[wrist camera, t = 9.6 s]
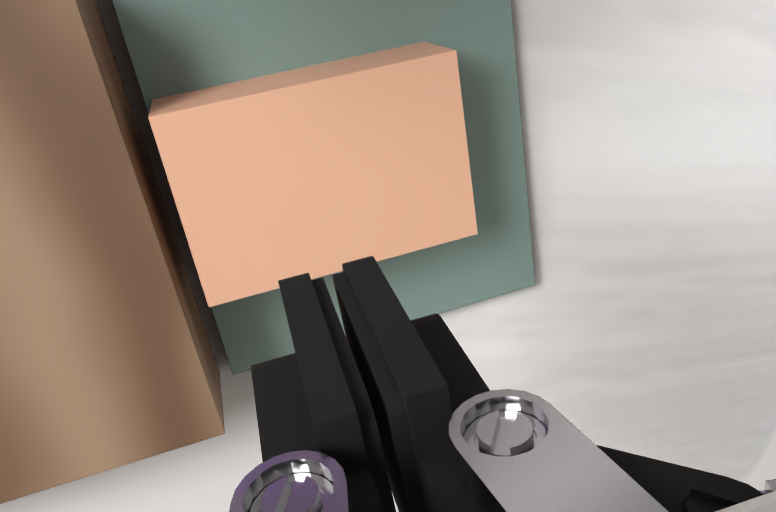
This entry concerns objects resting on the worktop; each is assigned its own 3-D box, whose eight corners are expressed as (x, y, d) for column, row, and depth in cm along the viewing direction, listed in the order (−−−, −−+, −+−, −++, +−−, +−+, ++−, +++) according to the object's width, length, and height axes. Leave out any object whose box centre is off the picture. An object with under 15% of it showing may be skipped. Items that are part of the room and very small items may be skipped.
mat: (494, -94, 22) (502, -96, 22) (528, 278, 28) (534, 284, 27) (106, -22, 20) (104, -23, 19) (232, 366, 26) (233, 374, 25)
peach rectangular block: (424, 41, 22) (456, 50, 20) (446, 206, 25) (477, 234, 22) (152, 99, 21) (148, 117, 18) (205, 269, 23) (208, 307, 21)
